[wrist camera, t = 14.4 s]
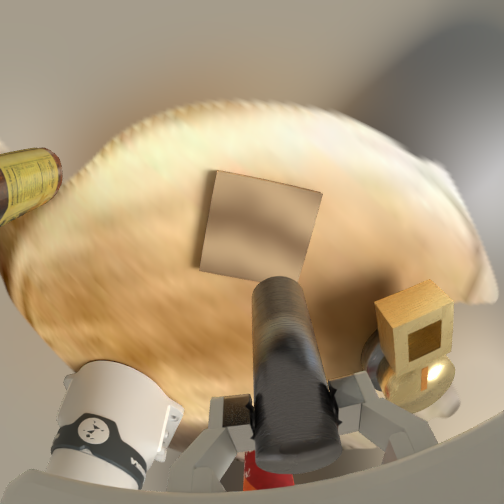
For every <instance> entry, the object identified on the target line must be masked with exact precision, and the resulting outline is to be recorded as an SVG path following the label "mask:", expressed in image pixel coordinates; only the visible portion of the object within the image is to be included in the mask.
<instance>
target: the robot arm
mask: <svg viewBox="0 0 504 504" xmlns="http://www.w3.org/2000/svg"><path fill="white" fill-rule="evenodd" d="M64 385H65V387H66V390H67V392H66V394H65V396H64V398H63V401H62V403H61V406H60V408H59V411H58V413H57V416H56V420H57V422H58V425H59V426H60V429H59V431H58V433H57V435H56V436H55V438H54V440H53V445H52V447H51V454H52V456H51V458H50V461H49V463H48V465H47V468H46V471H45V472H43V471H39V470H35V469H29V470H27V471H25V472H24V473H22V474H21V475H19V476H18V477H17V478H15V479H14V480H13V481H11V482H10V483H9V484H8V486H7V487H6V489H5V491H4V494H3V497H2V500H1V503H0V504H504V410H503V411H502V412H500V413H499V414H497V415H495V416H493V417H491V418H490V419H488V420H486V421H484V422H482V423H481V424H479V425H477V426H475V427H473V428H471V429H469V430H467V431H465V432H463V433H461V434H459V435H457V436H455V437H453V438H450V439H448V440H446V441H444V442H441V443H439V444H438V442H437V440H436V438H435V436H434V434H433V432H432V430H431V428H430V426H429V424H428V422H427V421H425V420H423V419H422V418H420V417H418V416H416V415H414V414H412V413H410V412H408V411H406V410H404V409H403V408H401V407H399V406H397V405H395V404H393V403H392V402H390V401H388V400H386V399H384V398H379V397H378V395H377V393H376V391H375V388H374V386H373V384H372V382H371V380H370V378H369V376H368V374H367V372H366V371H361V372H357V373H353V374H349V375H345V376H341V377H337V378H333V379H329V380H328V387H329V390H330V392H329V394H330V398H331V402H332V406H333V410H334V415H335V419H336V423H337V428H338V432H339V435H343V434H348V433H352V432H356V431H359V432H360V433H361V434H362V435H364V436H365V437H366V438H367V439H369V440H370V441H371V442H373V443H374V444H375V445H376V446H378V447H379V448H380V449H382V450H383V451H384V452H385V454H384V458H383V461H382V464H381V465H380V466H377V467H373V468H370V469H367V470H363V471H359V472H355V473H352V474H348V475H344V476H339V477H336V478H331V479H326V480H322V481H316V482H311V483H305V484H300V485H293V486H287V487H279V488H272V489H263V490H252V491H241V492H226V491H225V489H224V488H223V486H222V484H221V483H220V481H219V480H220V479H221V478H222V476H223V474H224V473H225V472H226V470H227V469H228V467H229V465H230V464H231V462H232V461H233V459H234V458H235V456H236V455H237V452H244V451H252V450H255V423H254V407H253V406H252V399H251V396H250V394H243V395H232V396H223V397H212V398H211V401H210V412H209V423H208V429H204V430H203V431H202V432H201V433H200V435H199V436H198V437H197V438H196V439H195V440H194V441H193V442H192V443H191V445H190V446H189V447H188V448H187V449H186V450H185V451H184V452H183V453H182V454H181V456H179V458H178V459H177V460H176V461H175V462H174V463H173V464H172V465H171V466H170V470H169V476H168V483H167V489H166V492H158V491H146V490H141V489H142V486H143V484H144V481H145V478H146V471H147V470H148V469H149V468H150V467H151V465H152V463H153V461H154V460H156V461H159V462H164V461H165V458H166V454H167V450H166V449H167V447H168V445H169V443H170V441H171V439H172V437H173V435H174V433H175V431H176V429H177V427H178V425H179V423H180V421H181V419H182V417H183V414H184V408H183V407H182V406H181V405H179V404H178V403H176V402H175V401H173V400H171V399H170V398H169V397H167V395H166V394H165V393H164V392H163V391H162V389H161V388H160V387H159V386H158V385H157V384H156V383H155V382H154V381H152V380H151V379H150V378H149V377H147V376H146V375H144V374H143V373H141V372H139V371H137V370H135V369H133V368H131V367H129V366H126V365H123V364H120V363H116V362H111V361H94V362H90V363H87V364H85V365H84V366H83V367H82V368H81V369H80V370H79V371H78V372H77V373H75V374H70V375H67V376H66V377H65V379H64Z"/></svg>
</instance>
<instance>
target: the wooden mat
mask: <svg viewBox="0 0 504 504" xmlns="http://www.w3.org/2000/svg"><path fill="white" fill-rule="evenodd" d="M322 195H323V194H322V193H320V192H317V191H313V190H309V189H304V188H300V187H296V186H292V185H287V184H283V183H278V182H274V181H269V180H265V179H260V178H255V177H250V176H245V175H241V174H235V173H230V172H225V171H220V170H218V171H217V174H216V179H215V184H214V189H213V195H212V200H211V205H210V211H209V216H208V222H207V228H206V233H205V239H204V245H203V251H202V257H201V263H200V269H199V271H202V272H208V273H213V274H218V275H224V276H229V277H235V278H240V279H246V280H251V281H257V282H262V281H263V280H265V279H267V278H270V277H274V276H285V277H289V278H291V279H293V280H295V281H296V282H297V283H298V280H299V276H300V273H301V270H302V266H303V263H304V260H305V256H306V253H307V249H308V246H309V242H310V239H311V235H312V232H313V228H314V225H315V221H316V217H317V214H318V210H319V206H320V203H321V199H322Z"/></svg>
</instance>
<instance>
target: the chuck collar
mask: <svg viewBox="0 0 504 504" xmlns="http://www.w3.org/2000/svg"><path fill="white" fill-rule="evenodd" d="M374 305H375V311H376V318H377V324H378V332H379V339H380V347H381V351H382V352H383V354H384V357H383V358H382V360H381V361H380V363H379V365H378V368H377V371H376V378H377V381H378V383H379V385H380V387H381V389H382V391H383V394H384V396H385V398H386V400H388V401H390V402H392V403H393V404H395V405H397V406H399V407H401V408H403V409H404V410H406V411H408V412H410V413H412V414H413V413H416V412H419V411H421V410H423V409H425V408H427V407H429V406H430V405H432V404H433V403H435V402H436V401H437V400H438V399H439V398H440V397H441V396H442V395H443V394H444V393H445V392H446V391H447V390H448V388H449V387H450V385H451V383H452V381H453V379H454V375H455V367H454V365H453V364H452V363H451V361H450V360H449V359H448V357H447V356H446V354H447V353H449V352H451V347H452V333H453V309H454V301H453V300H452V299H451V298H450V297H449V296H448V295H447V294H446V293H445V292H443V291H442V290H441V289H440V288H439V287H438V286H437V285H436V284H435V283H434V282H433V281H431V280H430V279H429V280H426V281H424V282H422V283H419V284H417V285H415V286H412V287H410V288H408V289H405V290H403V291H400V292H398V293H395V294H393V295H390V296H388V297H385V298H383V299H380V300H378V301H375V302H374Z"/></svg>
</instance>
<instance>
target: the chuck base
mask: <svg viewBox="0 0 504 504" xmlns="http://www.w3.org/2000/svg"><path fill="white" fill-rule="evenodd" d="M383 357H384V354H383V352H382V351H381V347H380V339H379V332H378V329H377V330H376V331H375V332H374V333H373V334H372V335H371V337H370V338H369V339H368V341H367V342H366V344H365V346H364V348H363V351H362V355H361V364H362V367H363V369H364V371H366V372H367V374H368V376H369V378H370V380H371V382H372V384H373V386H374V388H375V389H376V390H378V391H382V389H381V387H380V385H379V383H378V381H377V378H376V371H377V368H378V365H379V363H380V361H381V360H382V358H383ZM382 392H383V391H382Z"/></svg>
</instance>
